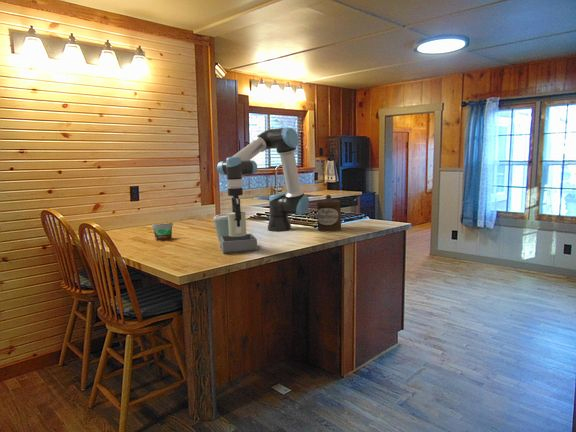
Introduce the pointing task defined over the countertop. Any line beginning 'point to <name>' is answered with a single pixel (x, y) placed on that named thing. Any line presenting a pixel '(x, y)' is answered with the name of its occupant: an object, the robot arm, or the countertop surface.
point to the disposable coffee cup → (221, 225)
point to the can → (233, 226)
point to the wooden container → (329, 214)
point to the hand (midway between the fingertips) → (237, 231)
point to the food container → (163, 231)
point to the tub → (238, 244)
